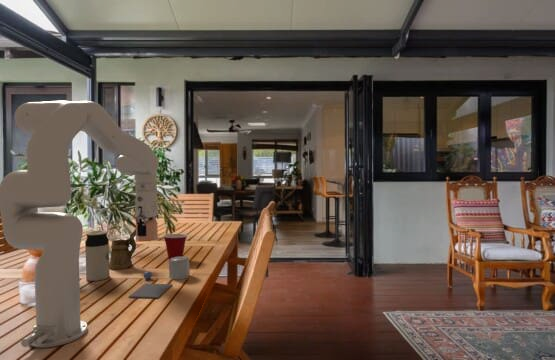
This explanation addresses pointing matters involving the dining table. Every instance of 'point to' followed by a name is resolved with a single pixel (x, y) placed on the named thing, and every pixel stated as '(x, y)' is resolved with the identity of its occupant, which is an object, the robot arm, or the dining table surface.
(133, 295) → the mat
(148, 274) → the marble
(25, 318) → the dining table surface
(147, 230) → the terracotta cup
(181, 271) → the grey cup
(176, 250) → the plastic cup
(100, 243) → the travel mug
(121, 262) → the wooden mug
